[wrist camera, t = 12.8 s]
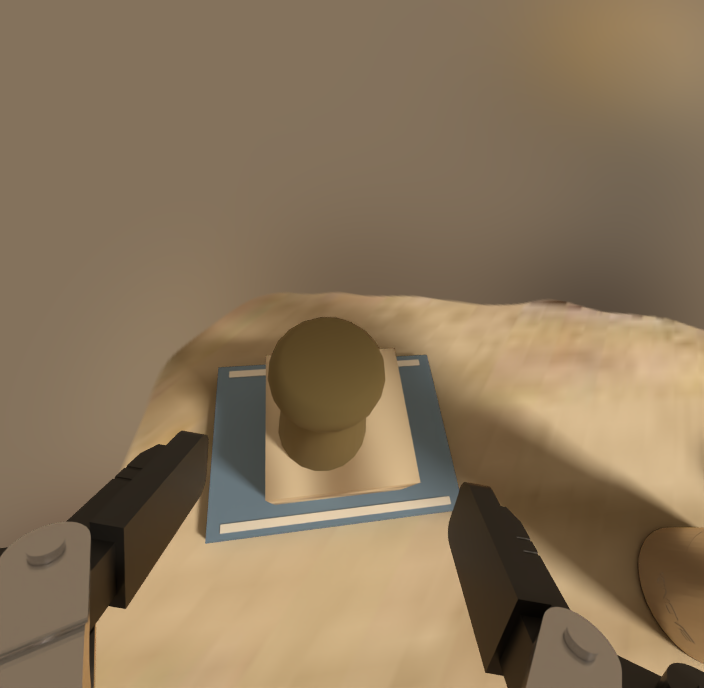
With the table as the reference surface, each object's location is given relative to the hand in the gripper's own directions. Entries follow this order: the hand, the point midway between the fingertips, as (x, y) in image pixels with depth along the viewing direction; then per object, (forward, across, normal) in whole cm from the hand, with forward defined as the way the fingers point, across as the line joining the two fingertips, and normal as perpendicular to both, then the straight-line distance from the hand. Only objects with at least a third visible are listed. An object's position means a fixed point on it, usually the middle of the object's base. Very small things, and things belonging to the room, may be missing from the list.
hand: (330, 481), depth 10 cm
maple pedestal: (+17, 0, +9) cm, 19 cm away
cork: (+12, +1, +5) cm, 13 cm away
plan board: (+18, 0, +10) cm, 20 cm away
